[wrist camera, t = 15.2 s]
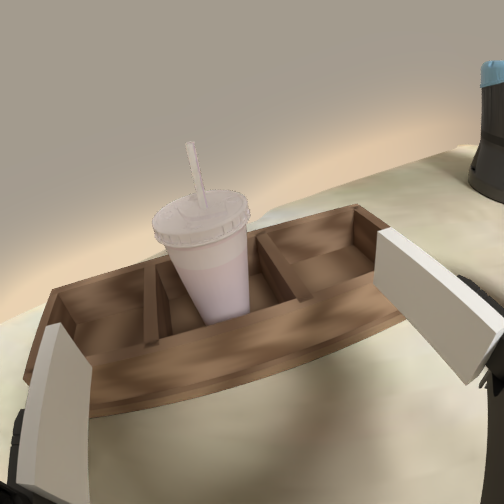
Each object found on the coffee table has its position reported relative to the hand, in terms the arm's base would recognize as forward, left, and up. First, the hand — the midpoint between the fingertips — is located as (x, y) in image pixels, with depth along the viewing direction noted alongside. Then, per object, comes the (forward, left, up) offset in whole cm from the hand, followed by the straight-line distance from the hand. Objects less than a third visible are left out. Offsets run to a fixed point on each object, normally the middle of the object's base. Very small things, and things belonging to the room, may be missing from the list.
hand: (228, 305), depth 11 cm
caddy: (0, -10, -10) cm, 14 cm away
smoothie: (0, -10, -10) cm, 14 cm away
